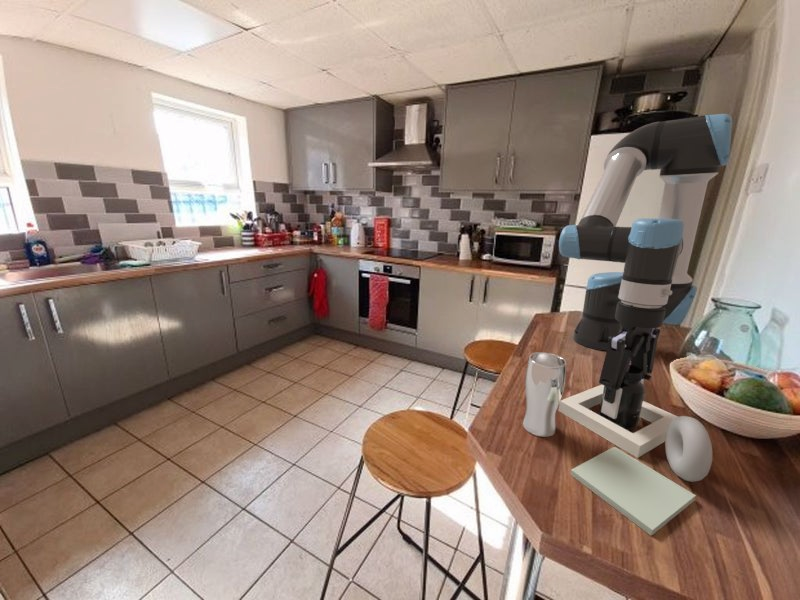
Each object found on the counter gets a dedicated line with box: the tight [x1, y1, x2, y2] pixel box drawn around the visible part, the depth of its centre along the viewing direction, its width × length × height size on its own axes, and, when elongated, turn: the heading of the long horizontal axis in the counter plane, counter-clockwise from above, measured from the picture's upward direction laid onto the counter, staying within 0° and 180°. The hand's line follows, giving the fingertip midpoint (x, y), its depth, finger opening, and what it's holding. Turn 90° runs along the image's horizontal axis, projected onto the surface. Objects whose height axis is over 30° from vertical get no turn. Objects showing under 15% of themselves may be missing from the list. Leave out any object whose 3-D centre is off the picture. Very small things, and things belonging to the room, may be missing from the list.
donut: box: [664, 415, 713, 482], centre depth 54 cm, size 10×4×10 cm, turn 159°
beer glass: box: [522, 351, 567, 438], centre depth 65 cm, size 7×7×15 cm
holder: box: [557, 384, 679, 459], centre depth 68 cm, size 16×16×2 cm
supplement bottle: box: [598, 364, 646, 431], centre depth 67 cm, size 7×7×12 cm
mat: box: [570, 446, 697, 537], centre depth 52 cm, size 12×12×1 cm
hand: (619, 409), depth 68 cm, fingers open, 7 cm apart
